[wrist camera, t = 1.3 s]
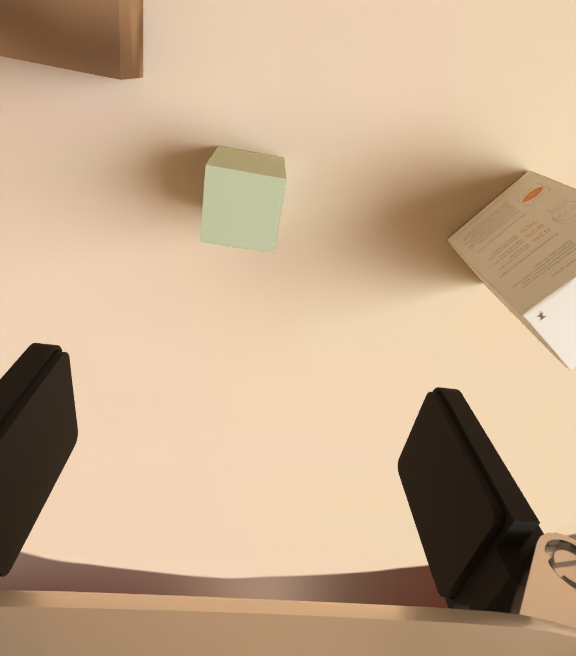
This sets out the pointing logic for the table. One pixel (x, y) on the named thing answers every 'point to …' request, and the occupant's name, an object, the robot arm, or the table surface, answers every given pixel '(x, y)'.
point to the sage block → (242, 199)
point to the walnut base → (75, 35)
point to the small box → (529, 258)
